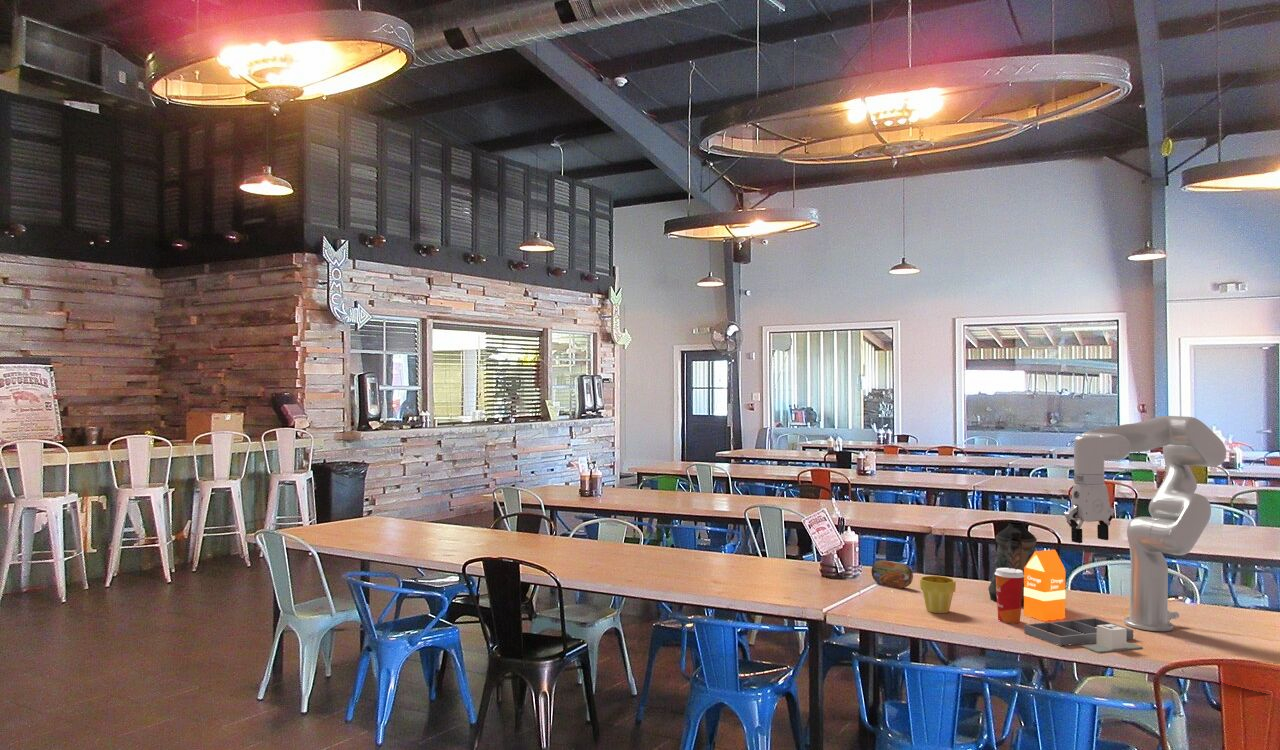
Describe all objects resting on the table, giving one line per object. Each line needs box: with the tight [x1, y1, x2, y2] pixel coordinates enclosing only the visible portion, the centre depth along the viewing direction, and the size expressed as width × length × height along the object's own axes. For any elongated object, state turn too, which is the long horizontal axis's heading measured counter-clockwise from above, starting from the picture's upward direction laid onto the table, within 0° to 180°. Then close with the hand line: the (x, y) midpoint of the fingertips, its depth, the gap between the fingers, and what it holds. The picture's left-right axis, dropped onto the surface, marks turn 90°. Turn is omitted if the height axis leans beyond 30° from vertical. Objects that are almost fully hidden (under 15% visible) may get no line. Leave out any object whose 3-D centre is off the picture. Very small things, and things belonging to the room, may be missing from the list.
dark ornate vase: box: [987, 522, 1038, 607], centre depth 293 cm, size 16×19×25 cm
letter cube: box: [1096, 623, 1127, 649], centre depth 242 cm, size 5×5×5 cm
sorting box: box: [1024, 617, 1134, 647], centre depth 253 cm, size 25×13×2 cm, turn 109°
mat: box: [1079, 641, 1143, 654], centre depth 242 cm, size 15×6×1 cm, turn 109°
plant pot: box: [919, 575, 957, 614], centre depth 279 cm, size 10×10×10 cm
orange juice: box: [1023, 549, 1066, 622], centre depth 274 cm, size 8×9×20 cm
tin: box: [870, 559, 914, 589], centre depth 314 cm, size 15×3×8 cm, turn 43°
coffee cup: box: [995, 568, 1025, 624], centre depth 268 cm, size 8×8×15 cm
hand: (1090, 540), depth 254 cm, fingers open, 9 cm apart
